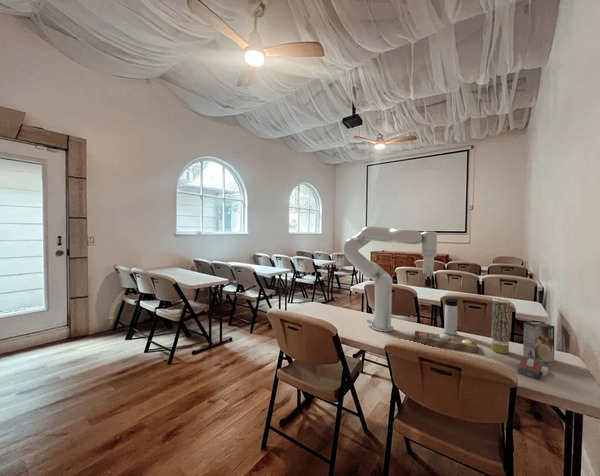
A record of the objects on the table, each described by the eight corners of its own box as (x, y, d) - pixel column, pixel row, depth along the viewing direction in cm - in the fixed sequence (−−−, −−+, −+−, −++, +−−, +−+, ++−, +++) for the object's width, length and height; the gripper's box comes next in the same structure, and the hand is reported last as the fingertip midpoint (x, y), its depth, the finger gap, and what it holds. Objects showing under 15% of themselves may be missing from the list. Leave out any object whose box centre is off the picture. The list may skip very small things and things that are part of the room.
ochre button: (462, 348, 135) (462, 342, 135) (461, 345, 139) (461, 339, 139) (472, 350, 133) (472, 343, 133) (471, 346, 137) (471, 340, 137)
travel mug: (459, 336, 151) (460, 300, 151) (446, 335, 152) (447, 299, 152) (455, 332, 157) (456, 298, 157) (442, 331, 158) (443, 297, 158)
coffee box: (541, 355, 128) (542, 321, 128) (554, 362, 122) (555, 326, 122) (522, 355, 128) (523, 321, 128) (534, 362, 121) (535, 326, 121)
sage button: (439, 341, 139) (439, 335, 139) (439, 338, 143) (439, 333, 143) (449, 343, 137) (449, 337, 137) (448, 340, 141) (448, 334, 141)
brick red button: (417, 340, 144) (418, 335, 143) (418, 338, 147) (418, 332, 147) (427, 342, 142) (427, 336, 142) (427, 339, 146) (427, 333, 146)
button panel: (413, 342, 142) (414, 336, 142) (414, 336, 151) (415, 330, 151) (477, 353, 130) (478, 347, 130) (474, 345, 139) (475, 339, 139)
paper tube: (511, 355, 129) (513, 301, 128) (495, 353, 130) (497, 301, 129) (503, 349, 135) (505, 298, 135) (488, 347, 136) (489, 297, 136)
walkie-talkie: (545, 384, 104) (550, 366, 118) (546, 372, 104) (550, 356, 118) (516, 375, 110) (524, 360, 124) (517, 364, 110) (524, 350, 124)
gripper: (422, 252, 161) (421, 283, 162) (421, 254, 148) (420, 287, 148) (436, 253, 158) (435, 284, 158) (436, 254, 145) (435, 289, 145)
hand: (428, 286), depth 153 cm, fingers closed
